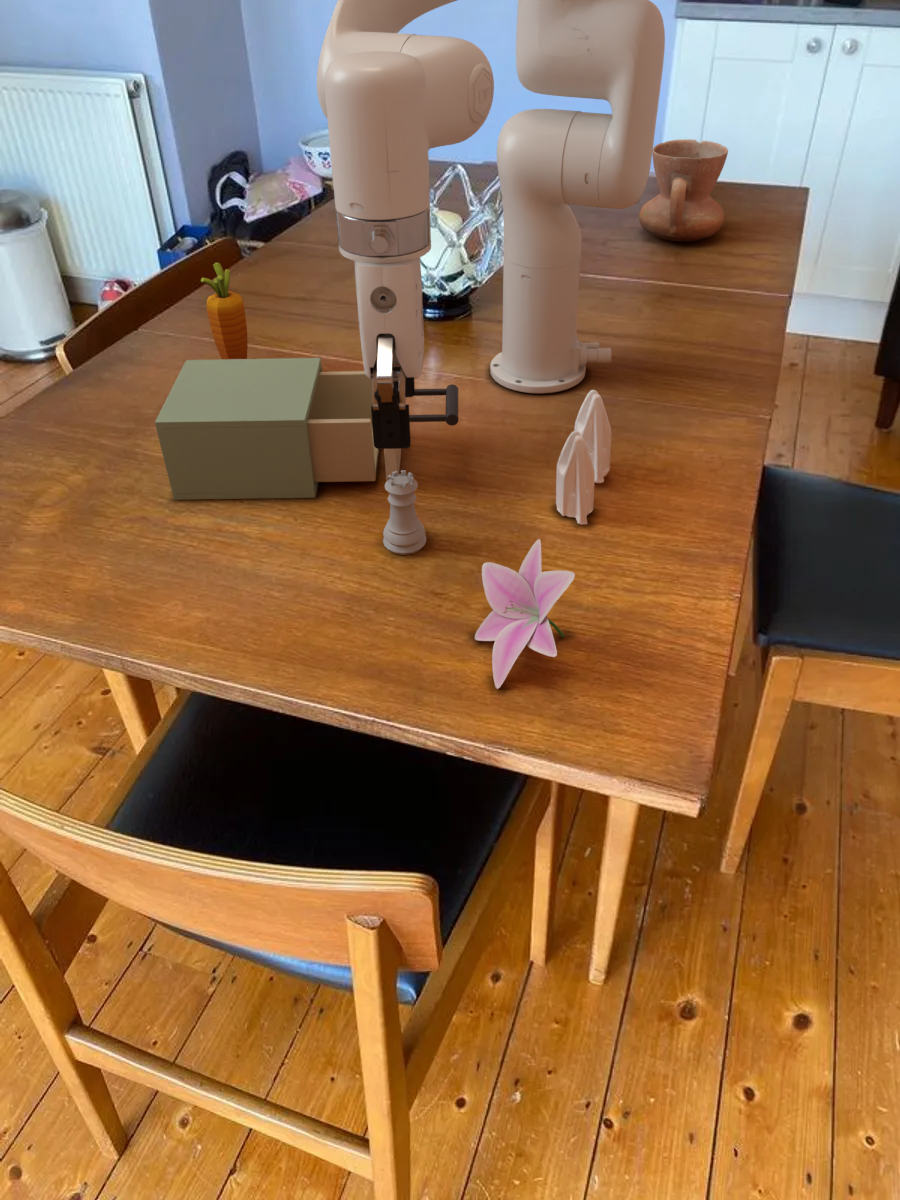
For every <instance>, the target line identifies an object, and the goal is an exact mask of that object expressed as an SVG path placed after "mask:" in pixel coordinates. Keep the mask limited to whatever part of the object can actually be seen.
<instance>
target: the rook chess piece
mask: <svg viewBox="0 0 900 1200" xmlns="http://www.w3.org/2000/svg"><path fill="white" fill-rule="evenodd" d="M418 487H419V484H418V481H417V480H416V479H415V476H414V473H412V472H411V471H409V472H407V470H404V469H400V473H399V474H398V475H397V471H394V472H392V475H388V481H387V480H386V482H385V483H384V489H385V491H386V492H388V494H389V495H388V497H387V502H388V503H389V507H390V508H389V518H388V520H387V522H386V524H385V526H384V528H383V532H382V536H383V539H382V543H383V546H384V547H385V548H386V549H387V550H389V552H391V553H393V554H395V555H399V556H406V555H413V554H415V553H417V552H419V551H420V550H421V549H422V548H423V547H424V546H425V545H426V543H427V536H426V529H425V526H424V524H423V523H422V522H421V520H420V518H419V517H418V514H417V511H416V505H415V504H416V503H415V502H416V501H417V496H416V494H415V491H416V490H417V489H418Z"/></svg>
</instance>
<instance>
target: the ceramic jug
mask: <svg viewBox="0 0 900 1200" xmlns="http://www.w3.org/2000/svg"><path fill="white" fill-rule="evenodd" d="M728 155H729V149H728V148H727V147H726V146H725V145H722V144H720V143H719V142H715V141H709V140H701V141H700V142H699V141H698V140H697V139H692V138H691V139H687V138H686V139H672V140H667V141H664V142H660V143H658V144H656V145H654V146H653V152H652V161H653V162H652V164H653V170H654V174H655V178H656V182H657V185H658V189H659V193H658V194H657V195H655V196H654V197H653V198H651V199H650V200H648V201H646V202H645V203H644V204H643V205H642V207H641V209H640V211H639V213H638V220H639V224H640V226H641V228H642V229H643V230H644V231H645V232H647V233H648V234H650V235H651V236H654V237H656V238H659V239H662V240H666V241H671V242H683V243H684V242H686V243H687V242H697V241H701V240H705V239H707V238H710V237H712V236H713V235H715V234H716V233H718V232H719V231H720V230H721V228H722V227H723V224H724V221H725V212H724V209H723V207H722V205H720V203H718V201H716V200H715V199H714V198H713V197H712V196H711V195H710V194H711V193H712V191H713V189H714V188H715V185H716V184H717V182H718V180H719V178H720V176H721V173H722V171H723V170H724V166H725V164H726V161H727V157H728Z"/></svg>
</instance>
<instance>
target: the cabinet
mask: <svg viewBox="0 0 900 1200" xmlns="http://www.w3.org/2000/svg"><path fill="white" fill-rule="evenodd" d="M322 363H323V362H322V358H321V357H288V358H287V357H285V358H284V357H281V358H279V357H278V358H247V359H222V358H221V359H220V358H219V359H218V358H217V359H186V360H185V361H184V363H183V365H182V367H181V369H180V371H179V373H178V376H177V377H176V379H175V381H174V383H173V385H172V387H171V389H170V391H169V393H168V395H167V397H166V399H165V401H164V403H163V405H162V407H161V409H160V411H159V413H158V415H157V417H156V419H155V421H154V425H155V428H156V434H157V437H158V442H159V445H160V450H161V453H162V457H163V462H164V466H165V469H166V473H167V477H168V481H169V485H170V489H171V493H172V497H173V500H175V501H176V500H177V501H179V500H182V501H183V500H186V501H187V500H189V501H190V500H251V499H254V500H256V499H257V500H258V499H259V500H260V499H315V498H316V496H317V493H318V492H317V491H318V488H319V483H320V482H315V481H314V474H313V466H312V459H311V452H310V444H309V437H308V429H307V419H308V415H309V411H310V407H311V403H312V399H313V395H314V391H315V387H316V383H317V380H318V376H319V372H323V365H322Z"/></svg>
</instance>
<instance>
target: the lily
mask: <svg viewBox="0 0 900 1200" xmlns="http://www.w3.org/2000/svg"><path fill="white" fill-rule="evenodd" d="M541 541H542V540H541V538H538V539H537V540H536V541H535V542H533V544H532V546H531V547H530V549H529V550H528V551H527V553H526V555H525V557H524V559H523V561H522V563H521V564H520V567H519V569H518V572H517V571H516V570H514V569H511V568H510V567H507V566H505V565H502V564H498V563H495V562H491V561H489V562H488V561H487V562H484V563H483V564H482V566H481V579H482V585H483V586H482V587H483V591H484V594H485V598H486V600H487V602H488V604H489V606H490V608H491V610H492V611H491V612H489V614H488V615H487V616H486V617H485V618H484V620H483V621H482V622H481V624H480V626H479V627H478V628H477V630H476V632H475V634H474V640H475V641H479V642H493V641H494V642H493V645H492V655H491V661H492V662H491V664H492V665H491V666H492V667H491V668H492V676H493V677H492V678H493V681H494V682H493V683H494V687H495V689H497V690H498V689H500V688H501V686H502V685H503V684H504V682H505V680H506V679H507V676H508V675H509V673H510V671H511V670H512V668H513V666H514V664H515V662H516V661H517V659H518V657H519V656H520V655H521V653H522V651H523V650H524V649H525V647H526V646H527V647H528V648H529V649H531V650H533V651H534V652H536V653H539V654H541V655H544V656H547V657H552V658H555V657H557V656H558V651H557V645H556V642H555V638H554V635H553V631H552V628H553V629H554V630H555V631H556V632H557V633H558V634H559V636H560V637H561V638H564V637H565V634H564V633H563V632H562V630H561V629H560V627H558V626H557V625H556V624H555V622H553V621H552V620H551V619H550V618H549V617H548V613H549V612H550V611H551V610H552V608H553V607H554V605H555V604H556V603H557V601H558V600H559V599H560V597H562V596H563V594H564V593H565V592H566V590H567V589H568V588H569V587H570V585H571V584H572V583H573V581H574V579H575V577H576V574H575V572H573V571H572V570H558V569H557V570H548V571H542V569H543V568H542V542H541Z"/></svg>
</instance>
